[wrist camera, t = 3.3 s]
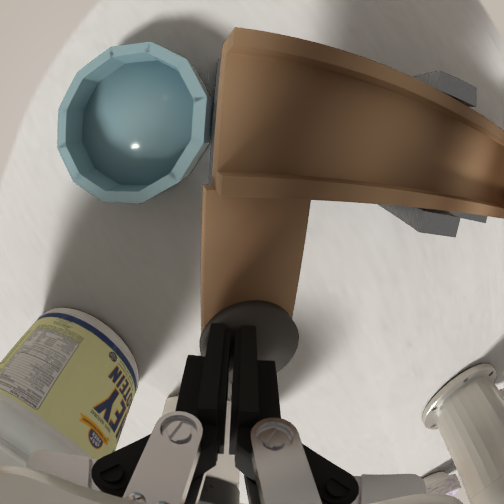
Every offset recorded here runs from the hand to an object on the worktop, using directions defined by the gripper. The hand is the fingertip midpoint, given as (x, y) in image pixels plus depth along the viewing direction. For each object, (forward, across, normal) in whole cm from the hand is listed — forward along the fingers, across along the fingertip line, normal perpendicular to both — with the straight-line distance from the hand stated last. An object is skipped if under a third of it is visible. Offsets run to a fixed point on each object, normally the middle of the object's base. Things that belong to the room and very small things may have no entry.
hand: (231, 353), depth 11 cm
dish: (+11, +7, -8) cm, 16 cm away
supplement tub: (+11, +15, +12) cm, 22 cm away
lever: (+4, -9, -4) cm, 11 cm away
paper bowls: (+10, -47, +57) cm, 74 cm away
